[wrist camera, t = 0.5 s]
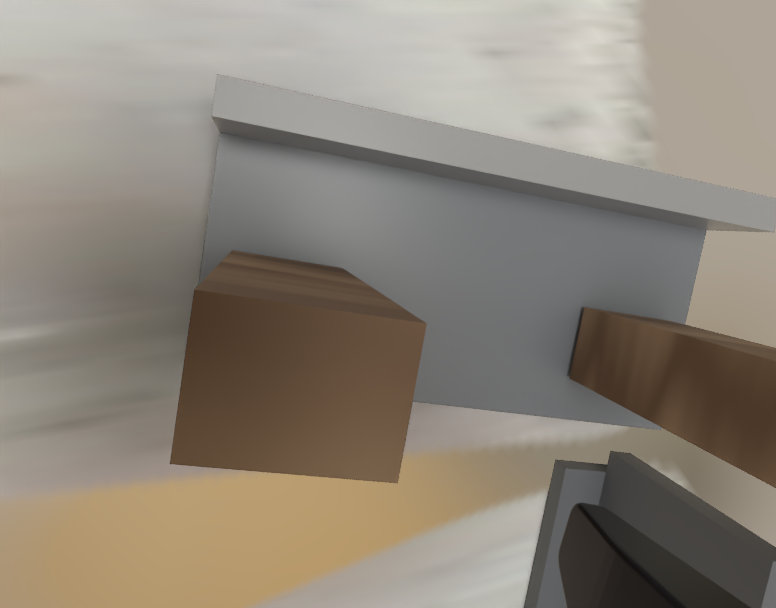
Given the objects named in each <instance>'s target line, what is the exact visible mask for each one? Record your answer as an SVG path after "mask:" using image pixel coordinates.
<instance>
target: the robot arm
mask: <svg viewBox="0 0 776 608" xmlns="http://www.w3.org/2000/svg"><path fill="white" fill-rule="evenodd" d="M558 563H559V570H560V575H561V580H562V585H563V590H564V595H565V600H566V605H567V608H751V607H750V606H748V605H747V604H745V603H744V602H742V601H741V600H739V599H738V598H736V597H735V596H734V595H732V594H731V593H729V592H728V591H726V590H725V589H723V588H722V587H720V586H719V585H717V584H716V583H715V582H713V581H712V580H710V579H709V578H707V577H706V576H704V575H703V574H701V573H700V572H699V571H697V570H696V569H694V568H693V567H691V566H690V565H688V564H687V563H685V562H684V561H683V560H681V559H680V558H678V557H677V556H675V555H674V554H672V553H671V552H669V551H668V550H667V549H665V548H664V547H662V546H661V545H659V544H658V543H656V542H655V541H653V540H652V539H651V538H649V537H648V536H646V535H645V534H643V533H642V532H640V531H639V530H637V529H636V528H635V527H633V526H632V525H630V524H629V523H627V522H626V521H624V520H623V519H621V518H620V517H619V516H617V515H616V514H614V513H613V512H611V511H610V510H608V509H607V508H605V507H603V506H600V505H594V504H587V503H577V504H575V505H574V506H573V508H572V510H571V512H570V515H569V518H568V522H567V525H566V528H565V532H564V535H563V538H562V541H561V545H560V548H559V554H558Z"/></svg>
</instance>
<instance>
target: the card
mask: <svg viewBox="0 0 776 608" xmlns="http://www.w3.org/2000/svg"><path fill="white" fill-rule="evenodd" d="M577 503H587V504H594V505H600V506H603V507H605V508H607V509H608V510H610V511H611V512H613V513H614V514H616V515H617V516H619V517H620V518H621V519H623V520H624V521H626V522H627V523H629V524H630V525H632V526H633V527H635V528H636V529H637V530H639V531H640V532H642V533H643V534H645V535H646V536H648V537H649V538H651V539H652V540H653V541H655V542H656V543H658V544H659V545H661V546H662V547H664V548H665V549H667V550H668V551H669V552H671V553H672V554H674V555H675V556H677V557H678V558H680V559H681V560H683V561H684V562H685V563H687V564H688V565H690V566H691V567H693V568H694V569H696V570H697V571H699V572H700V573H701V574H703V575H704V576H706V577H707V578H709V579H710V580H712V581H713V582H715V583H716V584H717V585H719V586H720V587H722V588H723V589H725V590H726V591H728V592H729V593H731V594H732V595H734V596H735V597H736V598H738V599H739V600H741V601H742V602H744V603H745V604H747V605H748V606H750V607H751V608H776V547H774V546H773V545H771V544H769V543H768V542H766V541H765V540H763V539H762V538H760V537H759V536H757V535H756V534H754V533H753V532H751V531H749V530H748V529H746V528H745V527H743V526H742V525H740V524H739V523H737V522H736V521H734V520H733V519H731V518H729V517H728V516H726V515H725V514H723V513H722V512H720V511H718V510H717V509H716V508H714V507H712V506H711V505H709V504H708V503H706V502H705V501H703V500H702V499H700V498H699V497H697V496H695V495H694V494H692V493H691V492H689V491H688V490H686V489H685V488H683V487H682V486H680V485H678V484H677V483H675V482H674V481H672V480H671V479H669V478H668V477H666V476H665V475H663V474H661V473H660V472H658V471H657V470H655V469H654V468H652V467H651V466H649V465H648V464H646V463H644V462H643V461H641V460H640V459H638V458H637V457H635V456H634V455H632V454H631V453H624V452H614V451H611V452H610V456H609V461H608V465H604V464H594V463H584V462H574V461H564V460H555V464H554V470H553V474H552V478H551V483H550V488H549V493H548V497H547V502H546V507H545V512H544V516H543V521H542V526H541V531H540V535H539V540H538V545H537V550H536V554H535V559H534V564H533V569H532V573H531V578H530V583H529V588H528V592H527V597H526V602H525V607H524V608H567V605H566V600H565V595H564V590H563V585H562V580H561V575H560V570H559V563H558V554H559V548H560V545H561V541H562V538H563V535H564V532H565V528H566V525H567V522H568V518H569V515H570V512H571V510H572V508H573V506H574V505H575V504H577Z"/></svg>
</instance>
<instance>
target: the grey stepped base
mask: <svg viewBox="0 0 776 608" xmlns="http://www.w3.org/2000/svg"><path fill="white" fill-rule="evenodd" d="M211 116H212V118H213V120H214V122H215V124H216V125H217V127H218V129H219V131H220V135H219V142H218V149H217V156H216V163H215V170H214V177H213V184H212V192H211V199H210V206H209V213H208V220H207V227H206V234H205V241H204V248H203V256H202V263H201V270H200V277H199V284H200V283H201V282H202V281H203V280H204V279H205V278H206V277H207V276H208V275H209V274H210V273H211V272H212V271H213V270H214V269H215V268H216V267H217V265H218V264H219V263H220V262H221V261H222V260H223V259H224V258H225V257H226V256H227V255H228V254H229V253H230V252H231V251H232V250H234V251H240V252H246V253H253V254H259V255H265V256H271V257H277V258H284V259H290V260H296V261H302V262H308V263H315V264H321V265H327V266H333V267H339V268H343V269H345V270H346V271H348V272H349V273H351V274H352V275H354V276H355V277H357V278H359V279H360V280H362V281H363V282H365V283H366V284H368V285H369V286H371V287H372V288H374V289H375V290H377V291H378V292H380V293H381V294H383V295H384V296H386V297H387V298H389V299H390V300H392V301H394V302H395V303H397V304H398V305H400V306H401V307H403V308H404V309H406V310H407V311H409V312H410V313H412V314H413V315H415V316H416V317H418V318H419V319H421V320H422V321H424V322H425V323H427V325H426V331H425V336H424V342H423V347H422V353H421V358H420V364H419V369H418V375H417V380H416V386H415V391H414V397H413V402H422V403H430V404H439V405H447V406H456V407H465V408H473V409H482V410H491V411H499V412H508V413H517V414H525V415H534V416H543V417H551V418H560V419H569V420H577V421H586V422H595V423H603V424H612V425H621V426H629V427H638V428H647V429H656V430H661V427H660V426H658V425H656V424H654V423H652V422H650V421H649V420H647V419H645V418H643V417H641V416H639V415H637V414H635V413H634V412H632V411H630V410H628V409H626V408H624V407H622V406H620V405H618V404H617V403H615V402H613V401H611V400H609V399H607V398H605V397H603V396H602V395H600V394H598V393H596V392H594V391H592V390H590V389H588V388H586V387H585V386H583V385H581V384H579V383H577V382H575V381H573V380H571V379H569V378H570V374H571V369H572V364H573V359H574V355H575V350H576V345H577V340H578V336H579V331H580V326H581V321H582V317H583V312H584V307H587V308H594V309H600V310H606V311H612V312H618V313H625V314H631V315H637V316H643V317H649V318H656V319H662V320H668V321H673V322H676V323H680V324H684V325H685V322H686V318H687V313H688V309H689V305H690V300H691V296H692V292H693V287H694V283H695V279H696V274H697V270H698V265H699V261H700V256H701V252H702V248H703V243H704V239H705V235H706V230H716V231H748V232H774V231H775V227H776V198H773V197H768V196H764V195H759V194H755V193H750V192H746V191H741V190H737V189H732V188H727V187H723V186H719V185H714V184H710V183H705V182H701V181H696V180H692V179H687V178H683V177H678V176H674V175H669V174H665V173H660V172H656V171H651V170H647V169H642V168H638V167H633V166H629V165H624V164H620V163H615V162H611V161H606V160H602V159H597V158H593V157H588V156H584V155H579V154H575V153H570V152H566V151H561V150H557V149H552V148H548V147H543V146H539V145H534V144H530V143H525V142H521V141H516V140H512V139H507V138H503V137H498V136H494V135H489V134H485V133H480V132H476V131H471V130H467V129H462V128H458V127H453V126H449V125H444V124H440V123H435V122H431V121H426V120H422V119H417V118H413V117H408V116H404V115H399V114H395V113H390V112H386V111H381V110H377V109H372V108H367V107H363V106H358V105H354V104H349V103H345V102H340V101H336V100H331V99H327V98H322V97H318V96H313V95H309V94H304V93H300V92H295V91H291V90H286V89H282V88H277V87H273V86H268V85H264V84H259V83H255V82H250V81H246V80H241V79H237V78H232V77H228V76H223V75H219V74H217V79H216V86H215V94H214V101H213V108H212V115H211ZM199 284H198V285H199Z"/></svg>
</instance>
